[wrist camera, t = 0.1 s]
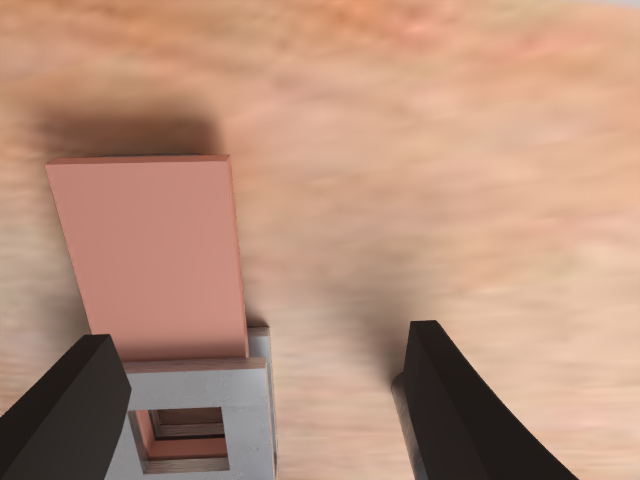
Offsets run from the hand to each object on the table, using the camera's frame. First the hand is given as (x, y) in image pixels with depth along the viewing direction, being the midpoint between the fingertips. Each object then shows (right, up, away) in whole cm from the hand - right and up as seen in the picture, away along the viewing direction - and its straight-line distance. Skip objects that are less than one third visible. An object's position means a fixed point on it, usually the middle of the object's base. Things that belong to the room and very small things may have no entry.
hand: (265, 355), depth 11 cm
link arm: (-6, -1, +12) cm, 13 cm away
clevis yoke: (-6, -8, +15) cm, 18 cm away
